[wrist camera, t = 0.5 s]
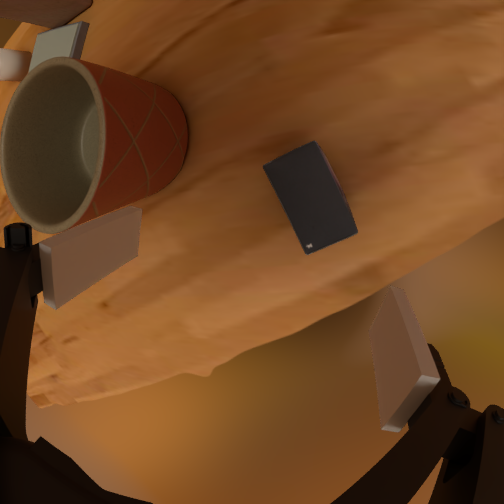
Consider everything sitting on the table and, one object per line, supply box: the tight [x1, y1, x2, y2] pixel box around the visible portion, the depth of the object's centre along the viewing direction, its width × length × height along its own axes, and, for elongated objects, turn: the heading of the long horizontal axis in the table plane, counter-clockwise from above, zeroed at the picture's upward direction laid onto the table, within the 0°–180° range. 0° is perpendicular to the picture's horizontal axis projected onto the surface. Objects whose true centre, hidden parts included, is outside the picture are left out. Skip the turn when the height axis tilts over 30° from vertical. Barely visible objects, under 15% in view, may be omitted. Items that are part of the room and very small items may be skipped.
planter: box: [0, 56, 188, 234], centre depth 34 cm, size 19×19×20 cm
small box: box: [263, 141, 358, 255], centre depth 35 cm, size 11×6×10 cm, turn 28°
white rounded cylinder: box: [0, 48, 32, 81], centre depth 39 cm, size 7×7×9 cm
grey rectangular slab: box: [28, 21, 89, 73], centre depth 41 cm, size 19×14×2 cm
